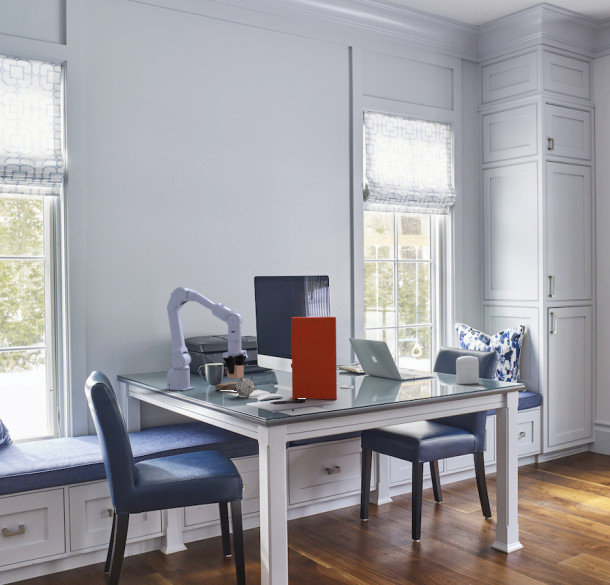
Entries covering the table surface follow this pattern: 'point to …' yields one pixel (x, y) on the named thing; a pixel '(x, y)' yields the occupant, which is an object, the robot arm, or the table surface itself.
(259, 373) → the table surface
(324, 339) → the file binder
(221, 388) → the plinth
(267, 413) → the table surface
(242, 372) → the cube
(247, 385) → the game die
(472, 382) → the grey smart speaker
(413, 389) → the table surface
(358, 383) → the table surface
